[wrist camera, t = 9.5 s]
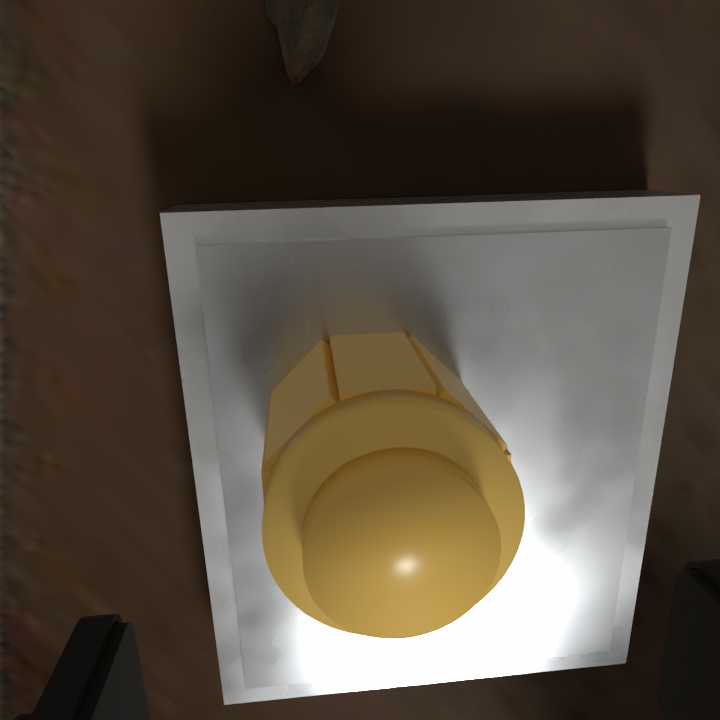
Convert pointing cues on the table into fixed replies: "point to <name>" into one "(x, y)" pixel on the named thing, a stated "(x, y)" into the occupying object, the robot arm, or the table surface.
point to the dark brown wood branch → (302, 32)
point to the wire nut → (385, 489)
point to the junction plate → (478, 374)
